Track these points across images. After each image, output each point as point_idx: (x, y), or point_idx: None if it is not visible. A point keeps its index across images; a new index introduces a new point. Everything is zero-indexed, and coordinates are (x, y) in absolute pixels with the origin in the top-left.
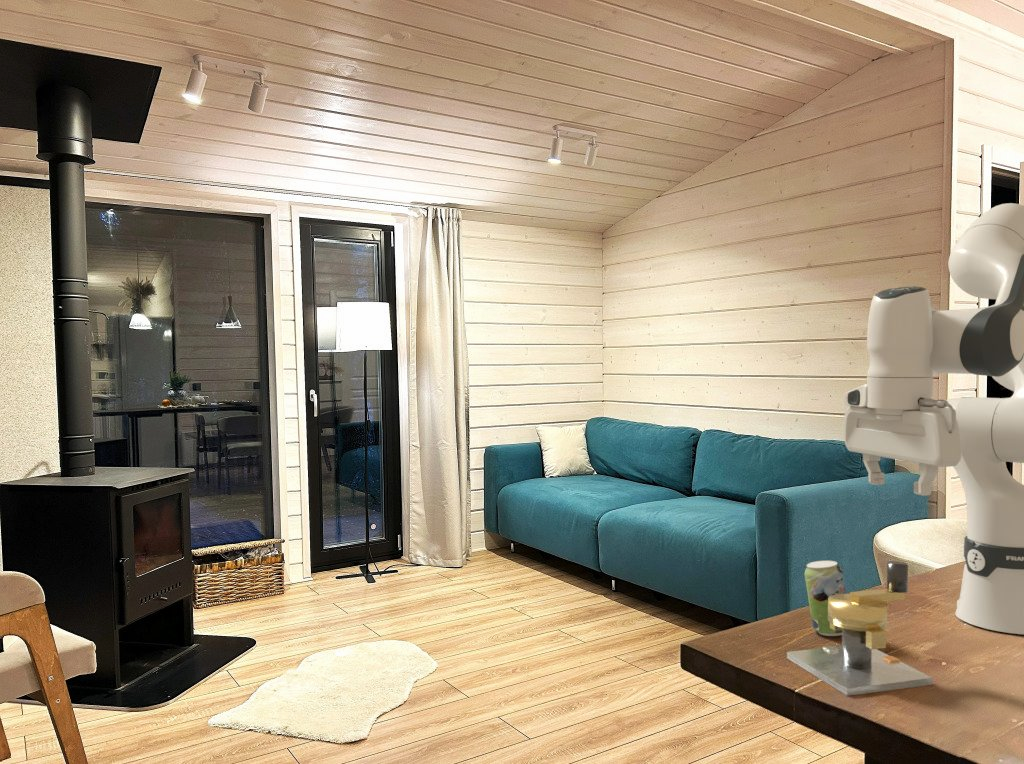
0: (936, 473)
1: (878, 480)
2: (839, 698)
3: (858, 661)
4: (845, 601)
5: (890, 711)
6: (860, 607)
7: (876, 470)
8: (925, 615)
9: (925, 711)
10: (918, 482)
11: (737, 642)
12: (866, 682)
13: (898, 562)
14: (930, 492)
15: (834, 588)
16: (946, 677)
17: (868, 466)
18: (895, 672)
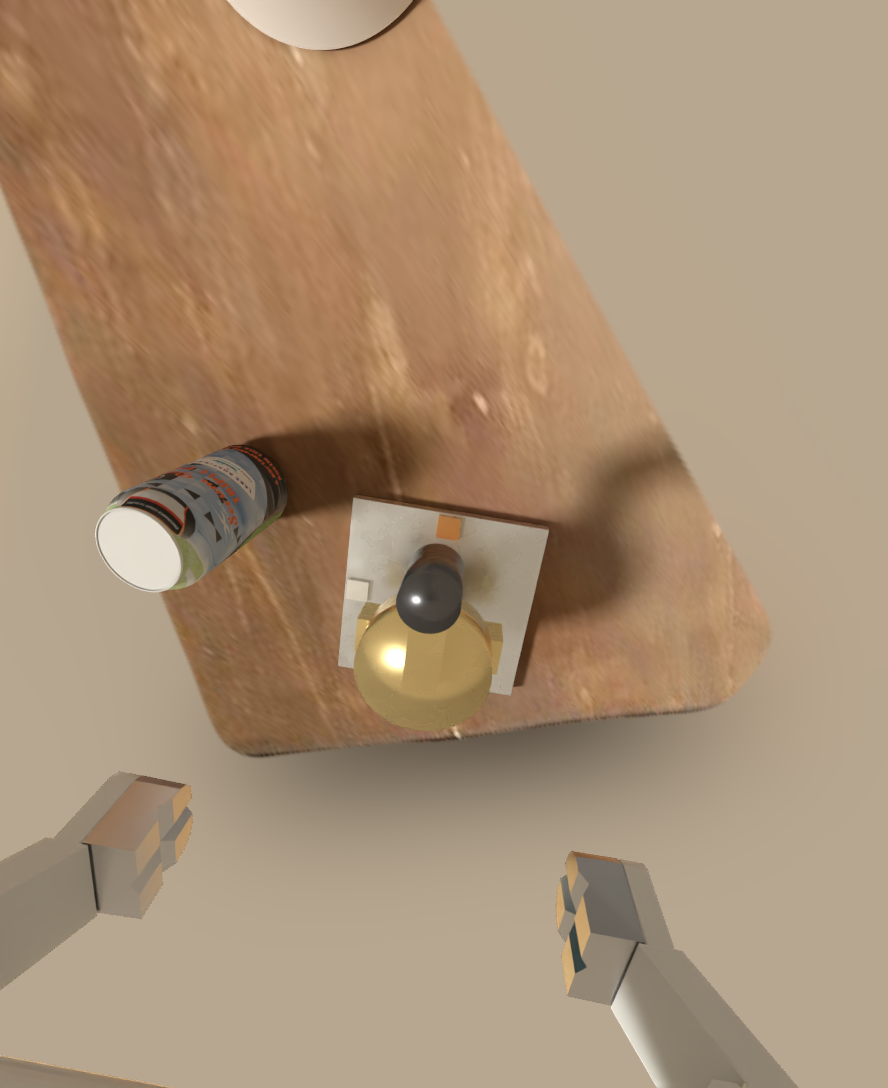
0: (777, 1074)
1: (172, 840)
2: (510, 703)
3: None
4: (407, 693)
5: (583, 674)
6: (458, 698)
7: (73, 889)
8: (201, 107)
9: (613, 628)
10: (619, 1009)
11: (243, 679)
12: (507, 651)
13: (419, 590)
14: (645, 875)
15: (229, 542)
16: (536, 468)
17: (27, 967)
18: (497, 570)
